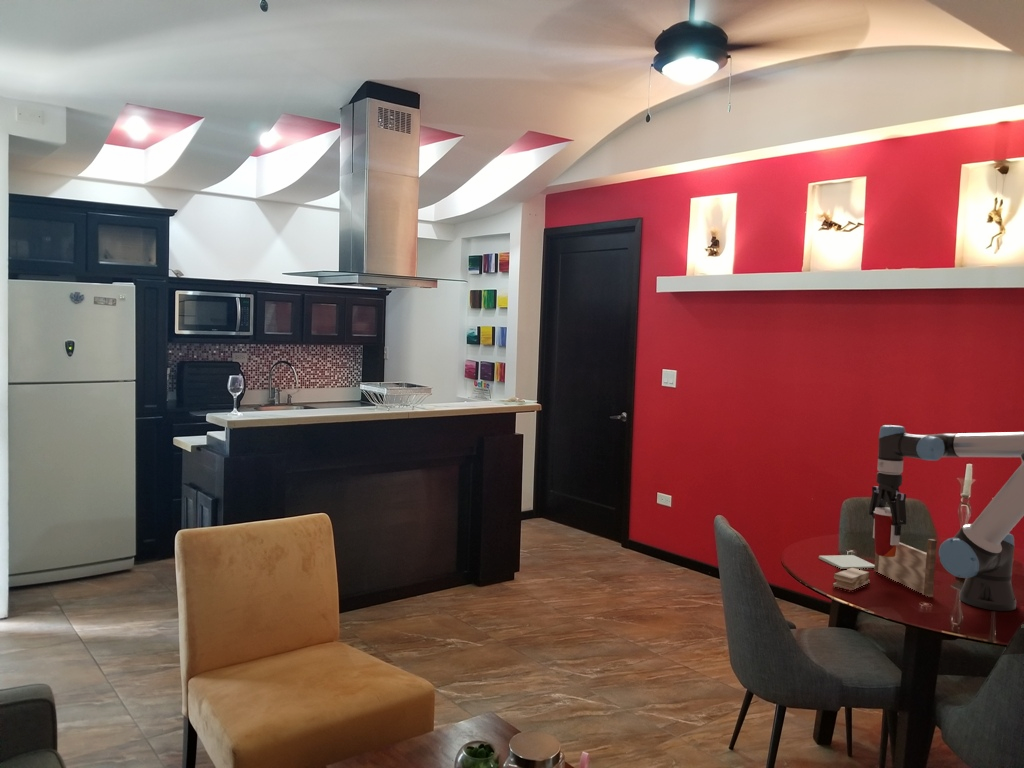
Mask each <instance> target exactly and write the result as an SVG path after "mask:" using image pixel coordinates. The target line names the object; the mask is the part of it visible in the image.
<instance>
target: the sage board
mask: <svg viewBox="0 0 1024 768" xmlns="http://www.w3.org/2000/svg"><path fill="white" fill-rule="evenodd" d="M818 559H819V560H821V561H823V562H825V563H826V564H829V565H832V566H833V567H835V566H836V567H835V568H837V567H838V568H837V569H839V568H840V569H839V570H841V569H850V568H855V569H860V570H869V569H868V568H875V563H871V562H870V561H867V560H865V559H864V558H863V559H862V558H860V557H859V556H856V555H854V554H841V555H840V554H839V555H835V554H833V555H819V556H818ZM863 568H864V569H863ZM865 568H867V569H865Z"/></svg>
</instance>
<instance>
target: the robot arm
mask: <svg viewBox="0 0 1024 768" xmlns="http://www.w3.org/2000/svg"><path fill="white" fill-rule="evenodd" d="M877 453H878V455H877V468H876V469H877V471H878V472H877V473H876V483H877V484H878V486H876V485H874V486H872V487H871V498H870V504H869V511H868V515H869V516H871V517H872V538H873V539H874V540H875V513H874V511H875V508H876V507H886V504H887V505H888V506H889V508H890V510H891V513H892V520H893V524H892V525H891V541H890V545H899V542H900V539H901V536H902V535H901V534H902V532H901V531H902V526H905V525H907V511H906V510H907V509H906V499H907V494H906V493H902V492H901V491H900V487H901V486H902V485H903V474H902V473H903V472H904V458H913V459H917V460H924V461H933V462H934V461H939V460H940V459H941V458H1020V460H1021V464H1020V466H1018V467H1017V469H1016V470H1015V471H1014V472H1013V474H1012V475H1011V476H1010V477H1009V479H1008V480H1007V481H1006V482H1005V483H1004V484H1003V485H1002V487H1001V488H1000V489H999V491H998V492H997V493H996V494H995V496H994V497H993V498H992V499H991V500H990V501H989V502H988V504H987V505H986V507H985V508H984V509H983V510H982V511H981V513H980V514H979V516H977V517H976V519H975V520H974V521H973V522H972V523H965V524H964V525H962V526H961V528H959V530H958V531H957V533H956V534H955V535H954V536H953V537H949V538H947V539H946V540H944V541H943V542H942V543H941V544H940V546H939V549H938V557H939V562H940V564H941V565H942V567H943V569H945V571H947V572H948V573H949V574H951V575H952V576H954V577H957V578H960V579H961V578H965V579H964V582H963V585H962V587H961V588H960V589H959V593H958V595H959V597H958V599H959V600H960V601H961V602H963V603H965V604H967V605H969V606H972V607H975V608H979V609H985V610H988V611H989V610H990V611H997V612H1011V611H1015V610H1016V609H1017V599H1016V597H1015V592H1014V588H1013V585H1012V575H1013V563H1014V552H1015V547H1016V546H1015V537H1014V535H1013V534H1012V533H1010V532H1011V531H1013V528H1015V527H1016V525H1017V524H1018V523H1019V522H1020V521H1021V519H1023V517H1024V431H1007V432H1006V431H1004V432H1002V431H1000V432H999V431H998V432H966V433H965V432H964V433H963V432H961V433H953V432H952V433H951V432H945V433H937V434H936V433H934V434H913V433H907V432H906V428H905V426H902V425H892V424H884V425H882V426H880V428H879V434H878V452H877Z"/></svg>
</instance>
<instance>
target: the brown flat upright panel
mask: <svg viewBox="0 0 1024 768" xmlns="http://www.w3.org/2000/svg"><path fill="white" fill-rule="evenodd" d="M926 544H927V545H926V552H925V551H923V550H920V549H918V548H915V547H912V546H911V545H908V544H906V543H903V542H900V541H899V545H897V546H896V553H895V556H894V557H885V556H880V555H877V554H875V553H874V554H875V556H874V565H875V568H874V569H873V572H874V571H876V572H878V573H880V574H882V575H884V576H886V577H885V578H887V577H888V578H887V579H889V578H890V579H889V580H891V579H892V580H891V581H893V580H894V581H893V582H895V581H896V582H895V583H897V582H899V583H901V584H903V585H902V586H904V585H905V586H904V587H906V586H907V587H906V588H908V587H909V588H908V589H910V588H911V589H910V590H912V589H913V590H912V591H914V590H915V591H914V592H916V591H917V592H916V593H918V592H919V594H920V593H922V594H921V595H923V596H924V595H925V596H924V597H927V596H928V597H927V598H933V597H934V582H935V571H936V557H937V556H936V554H937V539H934V538H928V539H927V543H926ZM876 572H875V573H876ZM878 573H877V574H878ZM880 574H879V575H880ZM882 575H881V576H882ZM884 576H883V577H884ZM899 583H898V584H899ZM901 584H900V585H901Z"/></svg>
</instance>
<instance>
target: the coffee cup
mask: <svg viewBox="0 0 1024 768" xmlns="http://www.w3.org/2000/svg"><path fill="white" fill-rule="evenodd" d="M874 513H875V539H874V554H877V555H880V556H885V557H894V556H895V553H896V546H897V545H890V541H891V525H892V524H893V520H892V513H891V510H890V507H886V506H885V507H876V508H875V511H874Z"/></svg>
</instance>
